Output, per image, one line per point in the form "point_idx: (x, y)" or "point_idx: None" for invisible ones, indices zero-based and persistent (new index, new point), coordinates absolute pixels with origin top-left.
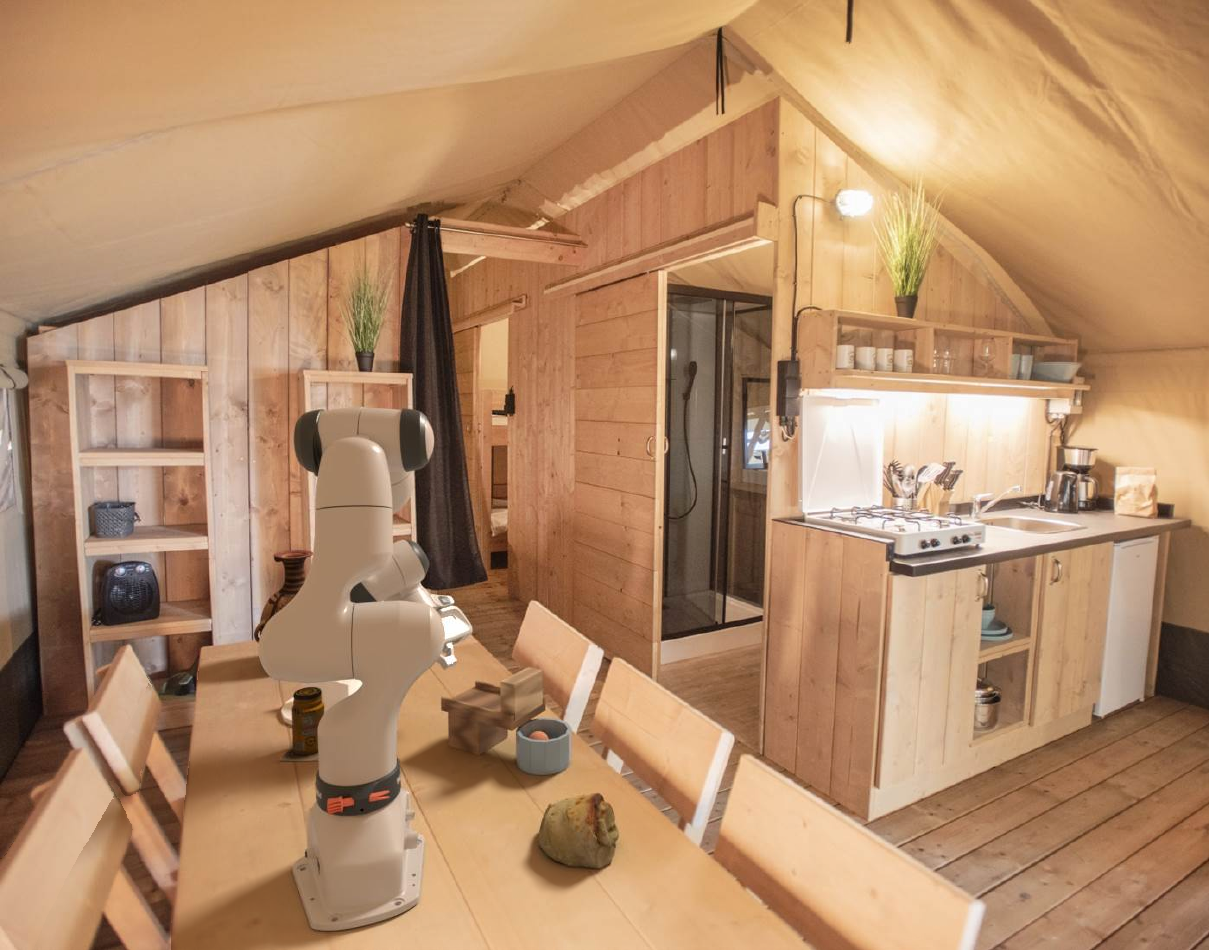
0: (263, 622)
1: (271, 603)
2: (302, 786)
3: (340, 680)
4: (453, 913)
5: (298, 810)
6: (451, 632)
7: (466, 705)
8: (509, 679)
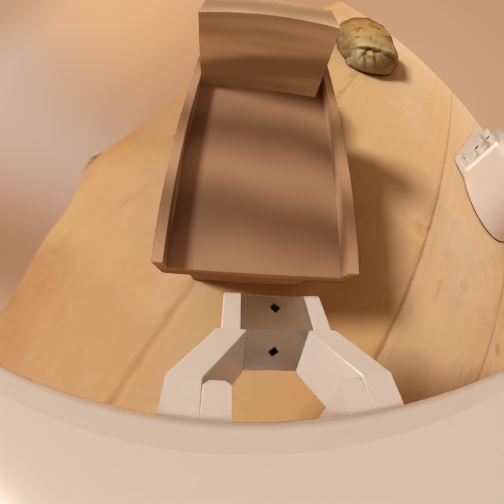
0: None
1: None
2: (477, 375)
3: None
4: (459, 111)
5: (498, 324)
6: (63, 471)
7: (347, 168)
8: (314, 18)
